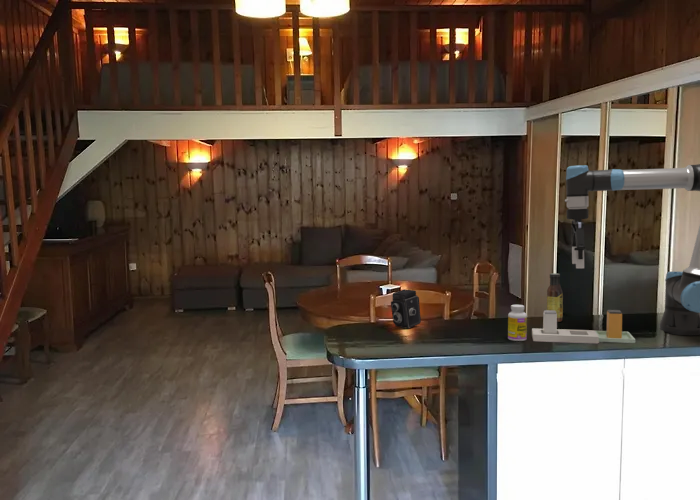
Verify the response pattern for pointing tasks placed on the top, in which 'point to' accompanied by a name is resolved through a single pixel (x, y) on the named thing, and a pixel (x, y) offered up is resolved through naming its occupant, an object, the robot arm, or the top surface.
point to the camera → (405, 309)
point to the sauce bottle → (555, 296)
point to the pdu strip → (566, 336)
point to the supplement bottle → (517, 323)
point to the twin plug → (549, 322)
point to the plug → (614, 324)
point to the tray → (625, 338)
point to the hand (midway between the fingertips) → (578, 266)
